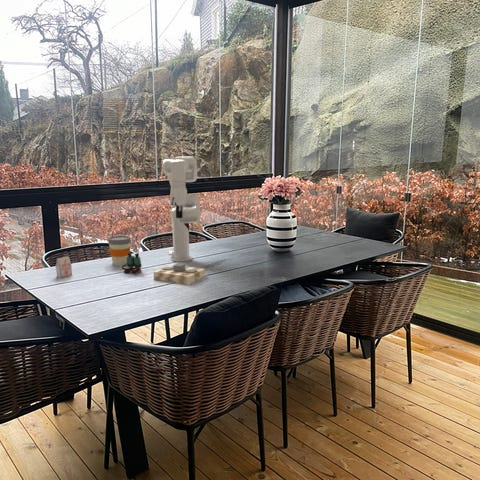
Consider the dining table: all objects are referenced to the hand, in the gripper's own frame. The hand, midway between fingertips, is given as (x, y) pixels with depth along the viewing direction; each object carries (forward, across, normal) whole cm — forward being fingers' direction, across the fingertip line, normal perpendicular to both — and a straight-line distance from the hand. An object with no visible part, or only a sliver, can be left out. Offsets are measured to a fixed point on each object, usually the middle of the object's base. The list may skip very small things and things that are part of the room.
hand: (179, 217), depth 262 cm
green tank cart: (+29, +16, -21) cm, 40 cm away
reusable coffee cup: (+29, +2, -40) cm, 50 cm away
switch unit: (+29, +14, +8) cm, 33 cm away
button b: (+26, +14, +8) cm, 31 cm away
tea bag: (+29, +36, -50) cm, 68 cm away
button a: (+29, +14, +1) cm, 32 cm away
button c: (+29, +14, +15) cm, 35 cm away
